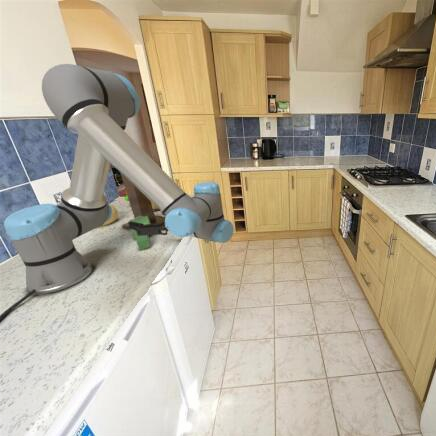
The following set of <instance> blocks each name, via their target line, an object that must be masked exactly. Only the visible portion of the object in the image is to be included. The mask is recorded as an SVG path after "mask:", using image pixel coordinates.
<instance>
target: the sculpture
mask: <svg viewBox="0 0 436 436" xmlns="http://www.w3.org/2000/svg"><path fill="white" fill-rule="evenodd" d="M109 205H110V206H111V207H112V214H111V217H110V219H109V220H108V221H107V222H105V223H104V224H103V225H101V226H100V227H102V226H103V227H104V226H107V225H110V224H112V223H114V222H115V221H116V220H117V219H118V217H119V213H118V209H117V208H116V207H115V205H113V204H112V203H110V204H109Z"/></svg>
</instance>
